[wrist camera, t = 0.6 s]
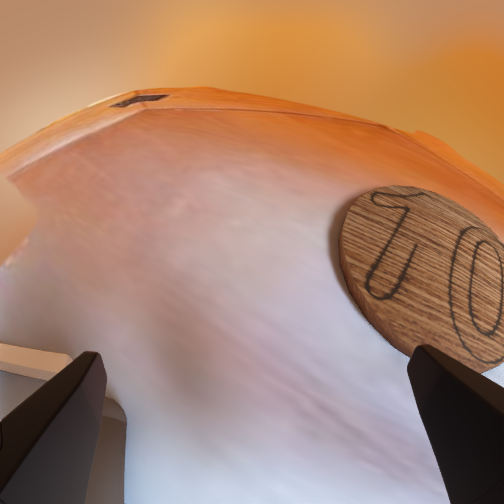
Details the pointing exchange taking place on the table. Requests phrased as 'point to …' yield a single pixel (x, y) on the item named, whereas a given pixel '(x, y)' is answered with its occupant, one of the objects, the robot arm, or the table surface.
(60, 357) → the long open tray
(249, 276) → the table surface
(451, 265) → the trivet
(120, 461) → the grey capsule bar
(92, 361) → the robot arm
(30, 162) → the table surface
